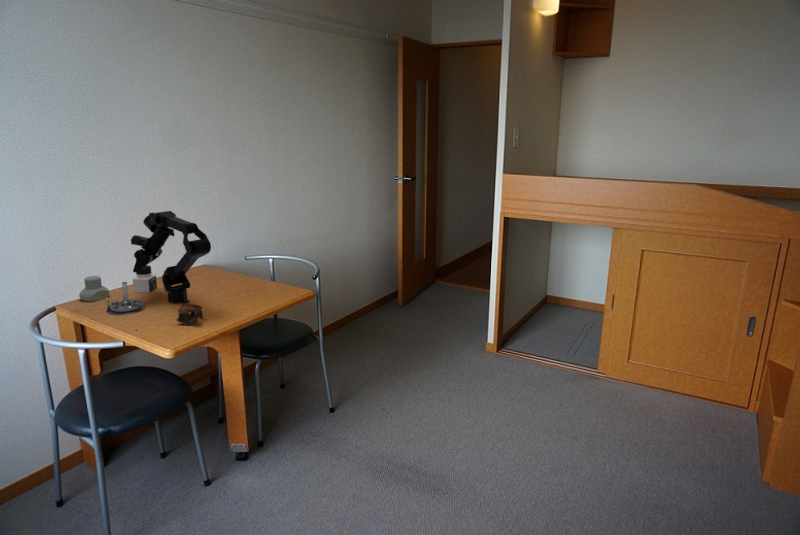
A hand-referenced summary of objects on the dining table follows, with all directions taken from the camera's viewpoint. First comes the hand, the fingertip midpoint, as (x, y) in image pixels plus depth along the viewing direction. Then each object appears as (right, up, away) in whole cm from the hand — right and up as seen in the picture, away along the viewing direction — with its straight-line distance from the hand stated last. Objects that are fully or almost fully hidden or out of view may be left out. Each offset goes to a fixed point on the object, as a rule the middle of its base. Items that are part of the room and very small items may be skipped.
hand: (137, 269), depth 228 cm
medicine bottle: (-3, -10, +15) cm, 18 cm away
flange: (0, -16, -10) cm, 19 cm away
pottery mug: (+29, -20, -19) cm, 40 cm away
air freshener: (-19, -13, +2) cm, 23 cm away
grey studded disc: (0, -15, -8) cm, 17 cm away
